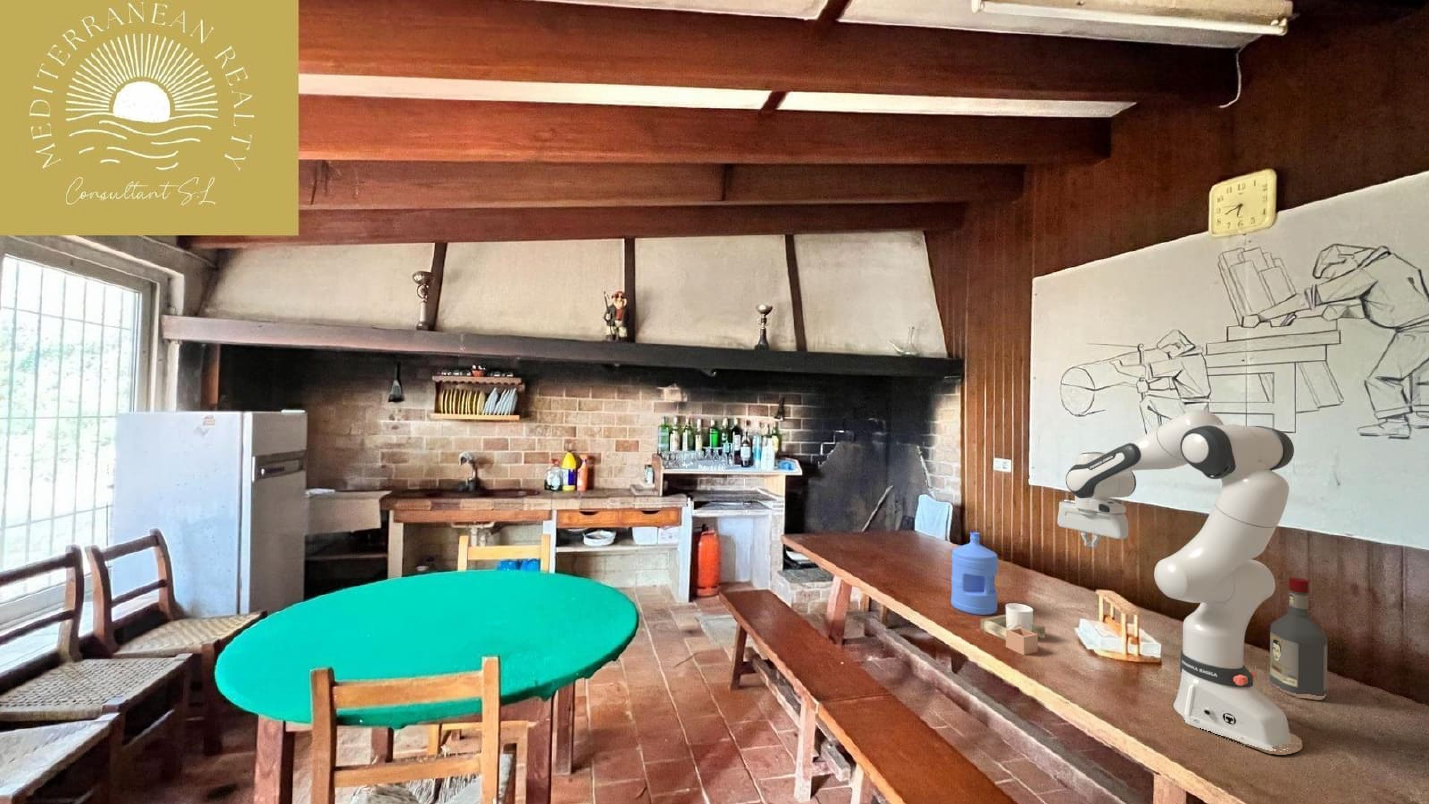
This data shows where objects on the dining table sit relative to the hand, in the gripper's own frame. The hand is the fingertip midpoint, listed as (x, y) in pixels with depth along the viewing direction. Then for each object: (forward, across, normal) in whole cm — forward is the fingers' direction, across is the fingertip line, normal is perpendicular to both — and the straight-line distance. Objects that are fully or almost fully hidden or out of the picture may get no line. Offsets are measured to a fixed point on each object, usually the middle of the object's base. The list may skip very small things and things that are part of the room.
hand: (1090, 547), depth 177 cm
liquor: (+31, +40, +23) cm, 56 cm away
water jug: (+31, -38, -7) cm, 50 cm away
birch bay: (+31, -14, -16) cm, 38 cm away
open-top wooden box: (+31, -5, -24) cm, 40 cm away
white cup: (+31, -12, -16) cm, 37 cm away
